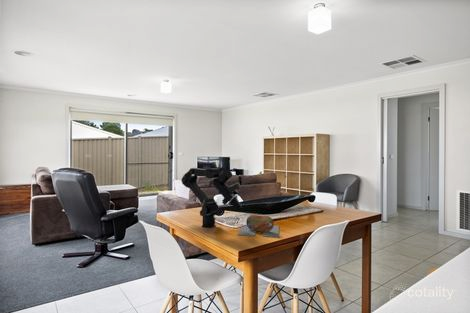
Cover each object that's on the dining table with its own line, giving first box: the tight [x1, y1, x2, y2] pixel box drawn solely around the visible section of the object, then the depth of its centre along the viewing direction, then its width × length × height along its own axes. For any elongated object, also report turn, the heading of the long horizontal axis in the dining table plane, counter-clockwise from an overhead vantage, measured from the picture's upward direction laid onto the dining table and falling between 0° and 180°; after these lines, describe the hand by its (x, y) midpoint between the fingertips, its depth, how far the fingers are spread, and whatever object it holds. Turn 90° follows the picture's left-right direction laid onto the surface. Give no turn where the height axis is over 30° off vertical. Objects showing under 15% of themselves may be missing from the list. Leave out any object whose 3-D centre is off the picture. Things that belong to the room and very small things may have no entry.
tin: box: [245, 214, 275, 233], centre depth 151 cm, size 15×3×8 cm, turn 66°
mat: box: [237, 225, 280, 238], centre depth 153 cm, size 21×20×1 cm
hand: (241, 208), depth 152 cm, fingers closed
